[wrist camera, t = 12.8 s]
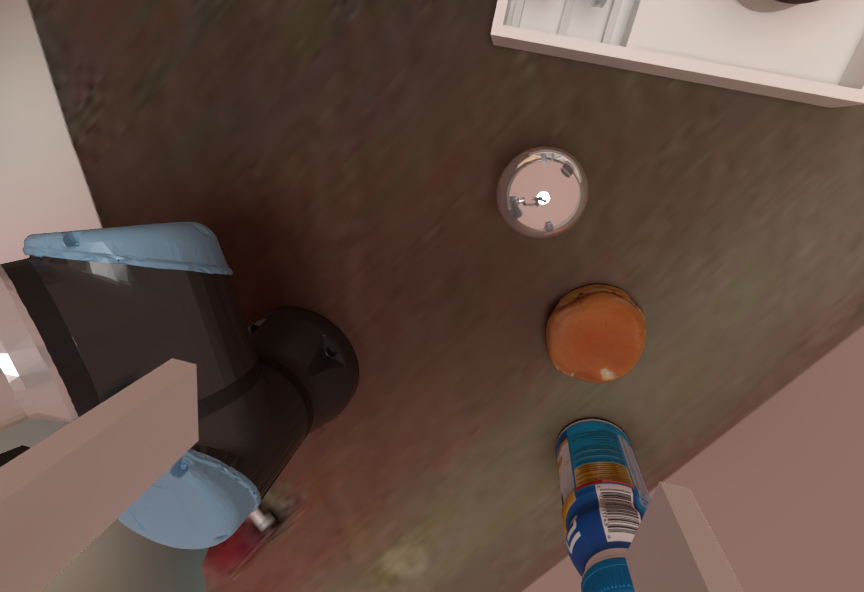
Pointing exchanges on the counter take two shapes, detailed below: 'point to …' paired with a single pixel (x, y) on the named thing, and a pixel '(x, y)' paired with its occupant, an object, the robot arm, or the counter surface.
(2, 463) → the robot arm
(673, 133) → the counter surface
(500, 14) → the white tray
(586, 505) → the beverage bottle
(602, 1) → the plates
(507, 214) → the light bulb
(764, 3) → the coffee cup
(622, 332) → the burger
